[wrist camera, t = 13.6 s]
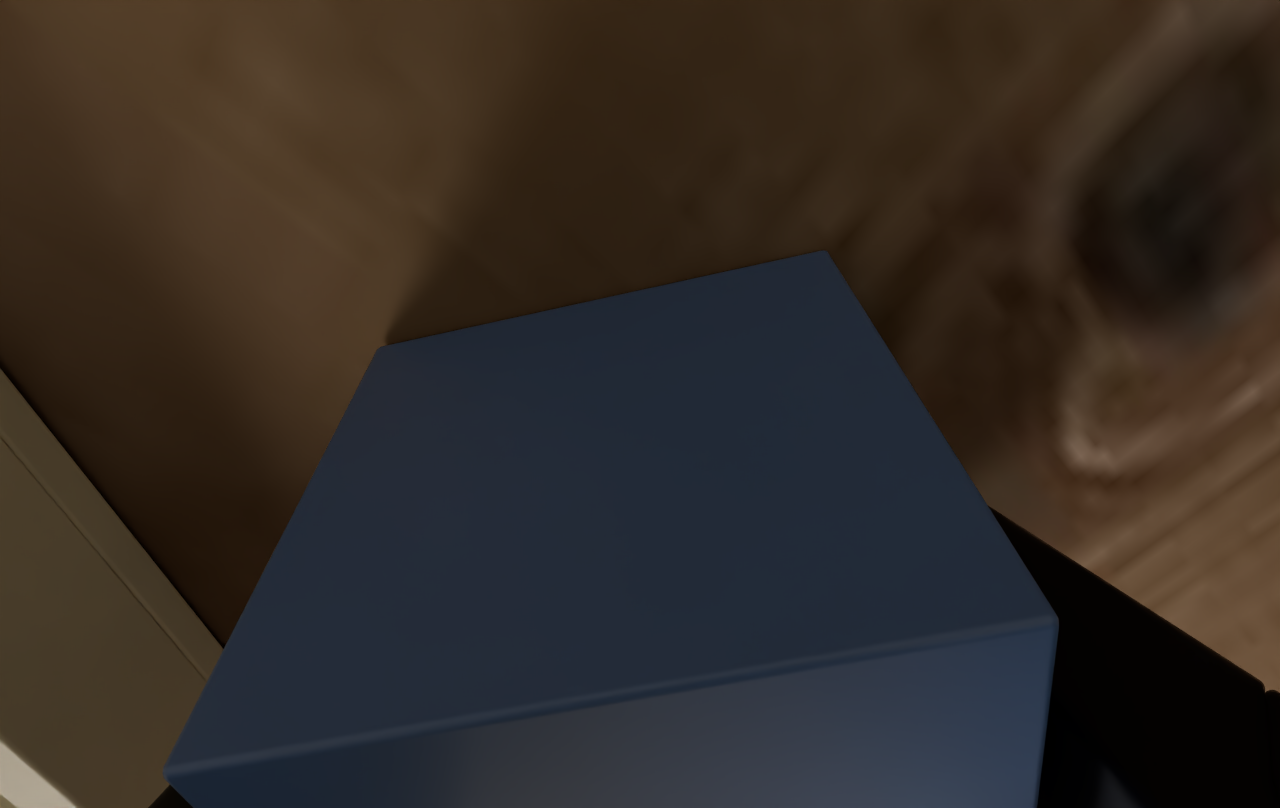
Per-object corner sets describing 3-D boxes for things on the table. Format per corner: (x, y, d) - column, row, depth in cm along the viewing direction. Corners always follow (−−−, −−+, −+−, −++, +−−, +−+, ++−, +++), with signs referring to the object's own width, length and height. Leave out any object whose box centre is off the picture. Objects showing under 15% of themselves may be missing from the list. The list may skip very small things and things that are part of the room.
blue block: (827, 246, 7) (1064, 619, 3) (857, 577, 10) (1016, 1006, 6) (376, 344, 8) (152, 776, 4) (513, 637, 10) (458, 1077, 6)
